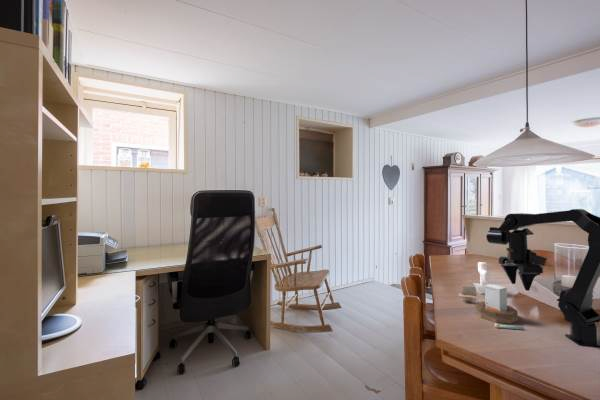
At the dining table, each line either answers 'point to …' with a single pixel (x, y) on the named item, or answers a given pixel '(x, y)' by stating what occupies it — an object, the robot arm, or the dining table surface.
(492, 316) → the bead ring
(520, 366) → the dining table surface
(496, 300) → the skincare box
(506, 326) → the teal thin rod
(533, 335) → the dining table surface
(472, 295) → the architectural model
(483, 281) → the figurine
